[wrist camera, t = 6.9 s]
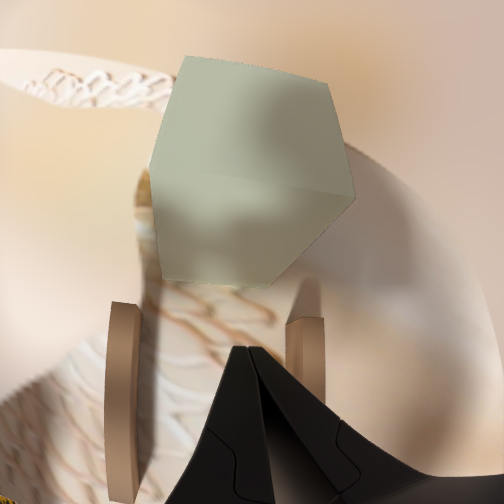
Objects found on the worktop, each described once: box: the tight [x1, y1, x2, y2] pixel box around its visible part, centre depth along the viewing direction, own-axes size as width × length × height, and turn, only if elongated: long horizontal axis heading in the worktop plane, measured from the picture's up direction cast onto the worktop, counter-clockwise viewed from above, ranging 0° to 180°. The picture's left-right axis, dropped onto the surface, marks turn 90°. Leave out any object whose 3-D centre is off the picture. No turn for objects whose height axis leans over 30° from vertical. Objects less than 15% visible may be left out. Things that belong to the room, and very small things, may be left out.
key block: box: [149, 56, 356, 288], centre depth 16 cm, size 16×6×10 cm, turn 179°
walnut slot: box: [104, 301, 325, 504], centre depth 13 cm, size 10×10×2 cm
